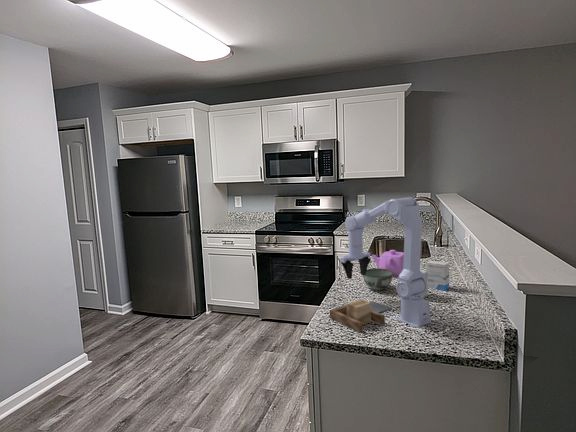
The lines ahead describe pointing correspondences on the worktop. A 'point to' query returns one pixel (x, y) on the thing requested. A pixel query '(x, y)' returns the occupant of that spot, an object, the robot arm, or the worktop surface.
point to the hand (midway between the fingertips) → (356, 276)
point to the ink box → (438, 275)
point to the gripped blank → (359, 311)
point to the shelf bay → (356, 325)
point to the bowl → (378, 278)
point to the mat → (378, 307)
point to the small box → (426, 282)
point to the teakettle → (391, 261)
